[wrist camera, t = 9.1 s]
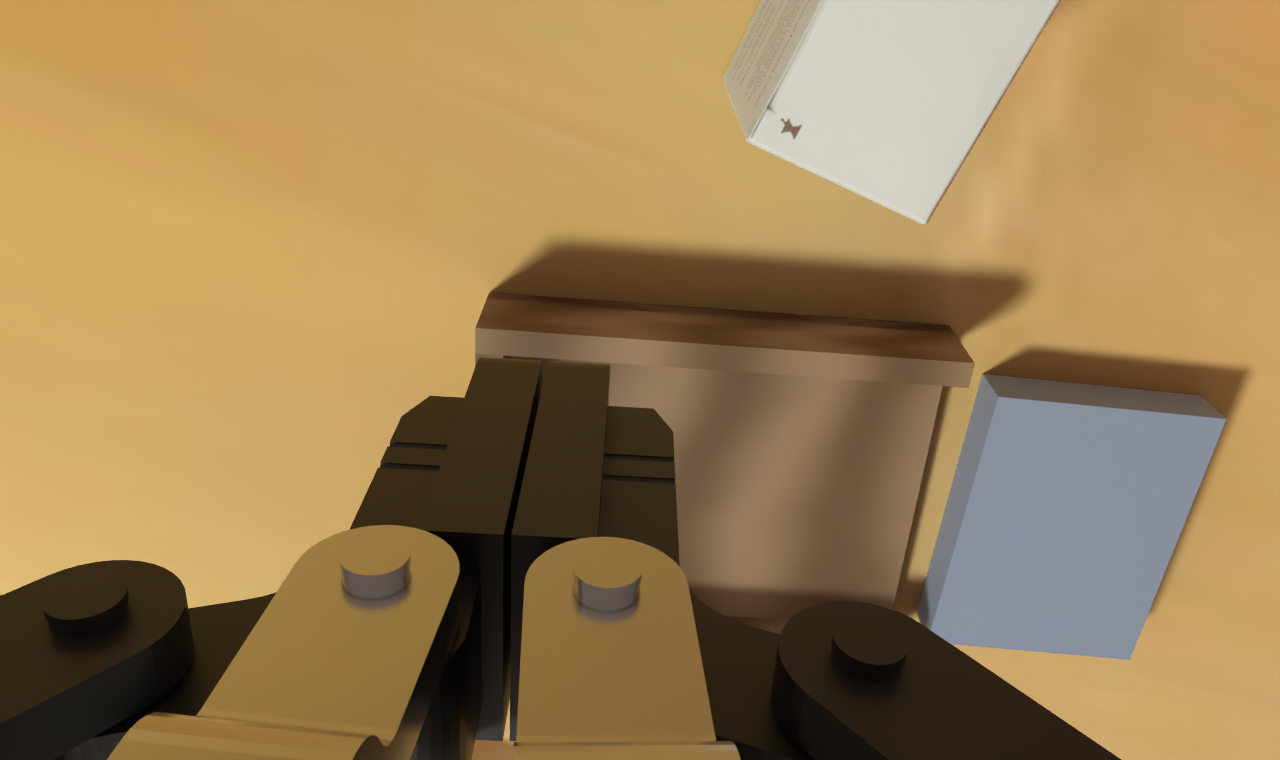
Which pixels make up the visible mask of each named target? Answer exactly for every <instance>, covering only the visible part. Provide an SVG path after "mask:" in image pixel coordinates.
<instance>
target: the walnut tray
mask: <svg viewBox="0 0 1280 760" xmlns="http://www.w3.org/2000/svg"><path fill="white" fill-rule="evenodd" d="M480 357H487V358H504V359H521V360H538V361H543V363H544V376H545V371H546V367H547V362H548V361H559V362H576V363H593V364H610V385H609V404H608V406H619V407H636V408H654V409H655V410H656V412H657V413H658V414H659V415H660V416H661V418H662V419H663V420H664V421H665V422H666V424H667V425H668V426H669V427H670V428H671V430H672V431H673V437H674V462H675V484H676V500H677V521H678V542H679V563H680V568H681V569H682V571H683V573H684V574H685V576H686V579H687V582H688V586H689V589H690V590H691V592H692V593H693V594H694V595H695V596H696V597H697V598H698V599H699V600H700V601H702V602H703V603H704V604H706V605H707V606H708V607H709V608H711V609H713V610H714V611H716V612H718V613H720V614H721V615H723V616H725V617H728V618H730V619H732V620H734V621H737V622H740V623H743V624H746V625H749V626H752V627H756V628H759V629H763V630H766V631H770V632H774V633H777V634H781V631H782V629H783V628H784V626H785V624H786V623H787V622H788V621H789V620H790V619H791V618H792V617H793V616H794V615H796V614H797V613H799V612H800V611H802V610H804V609H806V608H809V607H811V606H814V605H818V604H822V603H826V602H836V601H855V602H862V603H869V604H874V605H878V606H882V607H885V608H888V609H891V610H893V605H894V601H895V596H896V592H897V588H898V583H899V579H900V574H901V570H902V565H903V561H904V556H905V552H906V547H907V543H908V539H909V534H910V530H911V525H912V521H913V516H914V512H915V507H916V503H917V498H918V494H919V490H920V485H921V481H922V476H923V472H924V467H925V463H926V458H927V454H928V449H929V445H930V441H931V436H932V432H933V427H934V423H935V418H936V414H937V409H938V405H939V400H940V396H941V392H942V387H943V386H949V387H964V388H969V384H970V380H971V376H972V372H973V367H974V362H973V360H972V359H971V357H970V356H969V354H968V353H967V351H966V350H965V348H964V347H963V345H962V344H961V342H960V341H959V339H958V338H957V337H956V335H955V334H954V332H953V331H952V329H951V328H950V326H948V325H934V324H920V323H906V322H892V321H878V320H864V319H850V318H836V317H822V316H808V315H794V314H780V313H766V312H752V311H738V310H724V309H709V308H695V307H681V306H667V305H653V304H639V303H625V302H611V301H597V300H583V299H569V298H555V297H541V296H527V295H513V294H499V293H489V295H488V297H487V300H486V302H485V305H484V308H483V310H482V313H481V315H480V318H479V320H478V323H477V326H476V349H475V367H476V364H477V361H478V359H479V358H480Z"/></svg>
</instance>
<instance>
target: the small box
mask: <svg viewBox="0 0 1280 760" xmlns="http://www.w3.org/2000/svg"><path fill="white" fill-rule="evenodd" d="M1060 1H1061V0H761V1H760V3H759V5H758V7H757V9H756V11H755V13H754V15H753V18H752V20H751V22H750V24H749V26H748V28H747V30H746V32H745V34H744V36H743V38H742V40H741V42H740V44H739V46H738V49H737V51H736V53H735V55H734V57H733V59H732V61H731V63H730V65H729V67H728V69H727V71H726V73H725V74H724V76H723V83H724V85H725V87H726V90H727V92H728V95H729V98H730V100H731V102H732V105H733V107H734V110H735V112H736V115H737V117H738V120H739V122H740V125H741V127H742V130H743V132H744V135H745V137H746V139H747V141H748V143H750V144H752V145H754V146H756V147H759V148H761V149H763V150H765V151H767V152H769V153H771V154H774V155H776V156H778V157H780V158H782V159H784V160H786V161H788V162H791V163H793V164H795V165H797V166H799V167H801V168H803V169H806V170H808V171H810V172H812V173H814V174H816V175H818V176H821V177H823V178H825V179H827V180H829V181H831V182H833V183H835V184H838V185H840V186H842V187H844V188H846V189H848V190H850V191H852V192H854V193H857V194H859V195H861V196H863V197H865V198H867V199H869V200H871V201H874V202H876V203H878V204H880V205H882V206H884V207H886V208H888V209H890V210H893V211H895V212H897V213H899V214H901V215H903V216H905V217H907V218H910V219H912V220H914V221H916V222H918V223H920V224H926V223H928V221H929V219H930V217H931V216H932V214H933V212H934V211H935V209H936V207H937V206H938V204H939V202H940V201H941V199H942V197H943V196H944V194H945V192H946V191H947V189H948V188H949V186H950V184H951V183H952V181H953V179H954V177H955V176H956V174H957V172H958V171H959V169H960V167H961V165H962V164H963V162H964V161H965V159H966V157H967V156H968V154H969V152H970V151H971V149H972V147H973V146H974V144H975V142H976V141H977V139H978V137H979V136H980V134H981V132H982V131H983V129H984V127H985V126H986V124H987V122H988V120H989V119H990V117H991V115H992V114H993V112H994V110H995V109H996V107H997V105H998V104H999V102H1000V100H1001V99H1002V97H1003V95H1004V94H1005V92H1006V90H1007V89H1008V87H1009V85H1010V83H1011V82H1012V80H1013V79H1014V77H1015V75H1016V74H1017V72H1018V70H1019V69H1020V67H1021V65H1022V64H1023V62H1024V60H1025V59H1026V57H1027V55H1028V54H1029V52H1030V50H1031V49H1032V47H1033V45H1034V43H1035V42H1036V40H1037V38H1038V37H1039V35H1040V33H1041V32H1042V30H1043V29H1044V27H1045V25H1046V24H1047V22H1048V20H1049V19H1050V17H1051V15H1052V14H1053V12H1054V10H1055V9H1056V7H1057V5H1058V4H1059V2H1060Z"/></svg>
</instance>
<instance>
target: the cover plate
mask: <svg viewBox="0 0 1280 760" xmlns="http://www.w3.org/2000/svg"><path fill="white" fill-rule="evenodd" d="M1225 422H1226V418H1225V417H1224V416H1223V415H1222V414H1221V413H1220V412H1218V411H1217V410H1216V409H1215V408H1214V407H1213V406H1212V405H1211V404H1210V403H1209V402H1208V401H1207V400H1206V399H1204V398H1203V397H1202V396H1201V395H1193V394H1183V393H1173V392H1163V391H1153V390H1143V389H1133V388H1123V387H1113V386H1103V385H1093V384H1083V383H1072V382H1062V381H1052V380H1042V379H1032V378H1022V377H1012V376H1002V375H992V374H982V378H981V381H980V385H979V388H978V392H977V396H976V399H975V403H974V406H973V410H972V414H971V417H970V421H969V425H968V428H967V432H966V435H965V439H964V443H963V446H962V450H961V453H960V457H959V461H958V464H957V468H956V471H955V475H954V479H953V482H952V486H951V490H950V493H949V497H948V500H947V504H946V508H945V511H944V515H943V518H942V522H941V526H940V529H939V533H938V536H937V540H936V544H935V547H934V551H933V555H932V558H931V562H930V565H929V569H928V573H927V576H926V580H925V583H924V587H923V591H922V594H921V598H920V601H919V605H918V609H917V615H918V618H919V620H920V623H921V624H922V625H924V626H925V627H926V628H928V629H929V630H931V631H932V632H934V633H935V634H937V635H938V636H940V637H941V638H943V639H944V640H946V641H947V642H949V643H950V644H957V645H968V646H980V647H991V648H1002V649H1014V650H1025V651H1037V652H1048V653H1060V654H1071V655H1082V656H1094V657H1105V658H1117V659H1128V660H1130V658H1131V655H1132V653H1133V650H1134V648H1135V645H1136V643H1137V640H1138V638H1139V635H1140V633H1141V630H1142V628H1143V625H1144V623H1145V620H1146V618H1147V615H1148V613H1149V611H1150V608H1151V606H1152V603H1153V601H1154V598H1155V596H1156V593H1157V591H1158V588H1159V586H1160V583H1161V581H1162V578H1163V576H1164V573H1165V571H1166V568H1167V566H1168V563H1169V561H1170V558H1171V556H1172V553H1173V551H1174V548H1175V546H1176V543H1177V541H1178V538H1179V536H1180V534H1181V531H1182V529H1183V526H1184V524H1185V521H1186V519H1187V516H1188V514H1189V511H1190V509H1191V506H1192V504H1193V501H1194V499H1195V496H1196V494H1197V491H1198V489H1199V486H1200V484H1201V481H1202V479H1203V476H1204V474H1205V471H1206V469H1207V466H1208V464H1209V461H1210V459H1211V457H1212V454H1213V452H1214V449H1215V447H1216V444H1217V442H1218V439H1219V437H1220V434H1221V432H1222V429H1223V427H1224V424H1225Z"/></svg>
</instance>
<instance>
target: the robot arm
mask: <svg viewBox="0 0 1280 760" xmlns="http://www.w3.org/2000/svg"><path fill="white" fill-rule="evenodd" d="M609 385H610V364H593V363H576V362H559V361H548V362H547V367H546V371H545V376H544V363H543V361H538V360H521V359H504V358H487V357H480V358H479V359H478V361H477V364H476V367H475V370H474V373H473V376H472V378H471V381H470V384H469V387H468V390H467V392H466V395H465V398H458V397H441V396H429V397H428V398H427V399H425V400H424V401H422V402H421V403H420V404H418V405H417V406H415V407H414V408H413V409H411V410H410V411H409V412H407V413H406V414H404V415H403V416H402V417H401V419H400V421H399V423H398V426H397V428H396V430H395V432H394V434H393V436H392V439H391V441H390V447H387V449H386V452H385V454H384V456H383V458H382V460H381V465H380V468H378V469H377V471H376V473H375V476H374V478H373V480H372V482H371V484H370V486H369V489H368V491H367V493H366V495H365V497H364V499H363V502H362V504H361V506H360V508H359V510H358V512H357V515H356V517H355V519H354V521H353V523H352V526H351V528H350V530H347V531H344V532H341V533H338V534H335V535H332V536H330V537H328V538H326V539H324V540H322V541H320V542H319V543H317V544H315V545H314V546H312V547H311V548H310V549H308V550H307V551H306V552H305V553H304V554H303V555H302V556H301V557H300V558H299V560H298V561H297V562H296V563H295V565H294V566H293V568H292V569H291V571H290V573H289V574H288V576H287V577H286V579H285V580H284V582H283V583H282V585H281V586H280V588H279V589H278V591H277V593H273V594H270V595H266V596H263V597H257V598H252V599H247V600H241V601H235V602H228V603H222V604H215V605H209V606H202V607H196V608H189V609H188V605H187V599H186V593H185V588H184V586H183V584H182V582H181V580H180V579H179V578H178V577H177V576H176V575H175V574H173V573H172V572H170V571H169V570H167V569H165V568H163V567H160V566H157V565H155V564H151V563H146V562H141V561H130V560H111V561H102V562H94V563H89V564H84V565H79V566H75V567H72V568H68V569H65V570H62V571H59V572H56V573H54V574H51V575H49V576H46V577H44V578H41V579H39V580H37V581H34V582H32V583H30V584H27V585H25V586H23V587H20V588H18V589H16V590H13V591H11V592H9V593H6V594H4V595H2V596H0V760H471V758H472V753H473V748H474V743H475V740H492V741H493V740H494V741H503V736H504V730H505V724H506V718H507V712H508V706H509V700H510V741H516V742H514V746H513V759H512V760H1121V759H1119V758H1118V757H1116V756H1115V755H1114V754H1112V753H1111V752H1109V751H1108V750H1106V749H1105V748H1103V747H1102V746H1100V745H1099V744H1097V743H1096V742H1094V741H1093V740H1091V739H1090V738H1088V737H1087V736H1086V735H1084V734H1083V733H1081V732H1080V731H1078V730H1077V729H1075V728H1074V727H1072V726H1071V725H1069V724H1068V723H1066V722H1065V721H1063V720H1062V719H1060V718H1059V717H1058V716H1056V715H1055V714H1053V713H1052V712H1050V711H1049V710H1047V709H1046V708H1044V707H1043V706H1041V705H1040V704H1038V703H1037V702H1035V701H1034V700H1033V699H1031V698H1030V697H1028V696H1027V695H1025V694H1024V693H1022V692H1021V691H1019V690H1018V689H1016V688H1015V687H1013V686H1012V685H1010V684H1009V683H1007V682H1006V681H1005V680H1003V679H1002V678H1000V677H999V676H997V675H996V674H994V673H993V672H991V671H990V670H988V669H987V668H985V667H984V666H982V665H981V664H979V663H978V662H977V661H975V660H974V659H972V658H971V657H969V656H968V655H966V654H965V653H963V652H962V651H960V650H959V649H957V648H956V647H954V646H953V645H952V644H950V643H949V642H947V641H946V640H944V639H943V638H941V637H940V636H938V635H937V634H935V633H934V632H932V631H931V630H929V629H928V628H926V627H925V626H924V625H922V624H920V623H919V622H917V621H915V620H914V619H912V618H910V617H908V616H906V615H904V614H901V613H899V612H897V611H894V610H891V609H888V608H885V607H882V606H878V605H874V604H869V603H862V602H855V601H836V602H826V603H822V604H818V605H814V606H811V607H809V608H806V609H804V610H802V611H800V612H799V613H797V614H796V615H794V616H793V617H792V618H791V619H790V620H789V621H788V622H787V623H786V624H785V626H784V628H783V629H782V631H781V634H777V633H774V632H770V631H766V630H763V629H759V628H756V627H752V626H749V625H746V624H743V623H740V622H737V621H734V620H732V619H730V618H728V617H725V616H723V615H721V614H720V613H718V612H716V611H714V610H713V609H711V608H709V607H708V606H707V605H706V604H704V603H703V602H702V601H700V600H699V599H698V598H697V597H696V596H695V595H694V594H693V593H692V592H691V590H690V589H689V586H688V582H687V579H686V576H685V574H684V573H683V571H682V569H681V568H680V563H679V542H678V521H677V500H676V484H675V462H674V437H673V431H672V430H671V428H670V427H669V426H668V425H667V424H666V422H665V421H664V420H663V419H662V418H661V416H660V415H659V414H658V413H657V412H656V410H655V409H654V408H636V407H619V406H608V404H609Z"/></svg>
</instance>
